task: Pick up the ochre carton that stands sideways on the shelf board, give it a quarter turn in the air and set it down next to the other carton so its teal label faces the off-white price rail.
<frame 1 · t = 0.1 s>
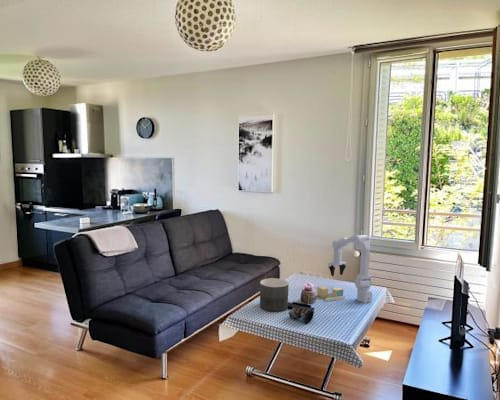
hand: (336, 275, 279), 10 cm above the table, fingers open, 7 cm apart
shelf: (329, 298, 259), on the table
figurine: (300, 320, 223), on the table
planter: (273, 307, 243), on the table
carton: (322, 296, 260), point 1 cm above the table, touching shelf
carton faced: (337, 297, 258), point 1 cm above the table, touching shelf
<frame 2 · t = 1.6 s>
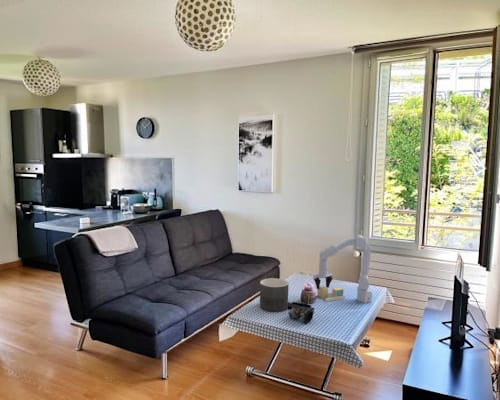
hand: (322, 288, 259), 7 cm above the table, fingers open, 7 cm apart
nothing on the table moved.
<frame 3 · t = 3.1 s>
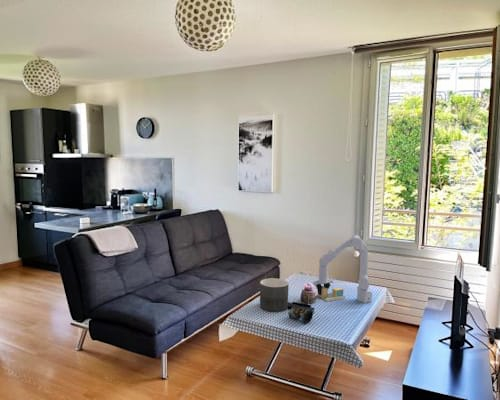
hand: (322, 294, 260), 3 cm above the table, fingers closed on carton, 4 cm apart
carton: (322, 296, 260), point 1 cm above the table, touching gripper, shelf
everything else where it was.
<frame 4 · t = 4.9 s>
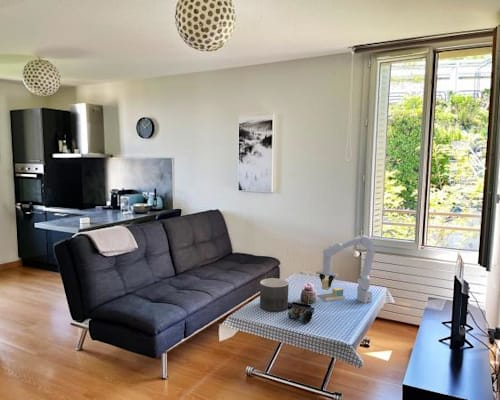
hand: (326, 286, 255), 10 cm above the table, fingers closed on carton, 4 cm apart
carton: (326, 288, 256), point 8 cm above the table, touching gripper
everything else where it was.
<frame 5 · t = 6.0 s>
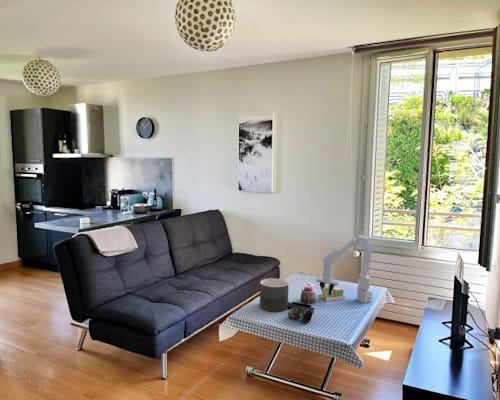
hand: (326, 294, 255), 4 cm above the table, fingers closed on carton, 4 cm apart
carton: (326, 296, 255), point 3 cm above the table, touching gripper
everything else where it was.
when the fingers open (4 cm above the table, at t = 6.8 s): carton drops 1 cm, resting on shelf.
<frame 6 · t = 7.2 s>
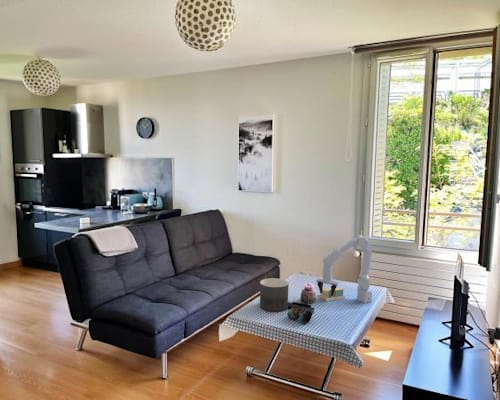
hand: (326, 294, 255), 4 cm above the table, fingers open, 7 cm apart
carton: (326, 298, 256), point 1 cm above the table, touching shelf
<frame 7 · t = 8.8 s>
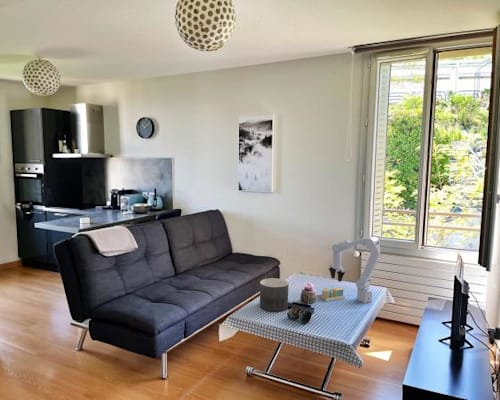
hand: (336, 279, 266), 10 cm above the table, fingers open, 7 cm apart
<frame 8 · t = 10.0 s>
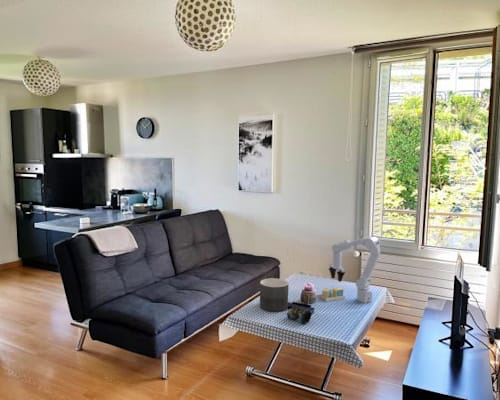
hand: (336, 279, 266), 10 cm above the table, fingers open, 7 cm apart
at the end: carton 0.1 cm from the target spot, point 1.2 cm above the table; carton tilted 0°; carton faced moved 0.0 cm from its start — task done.
